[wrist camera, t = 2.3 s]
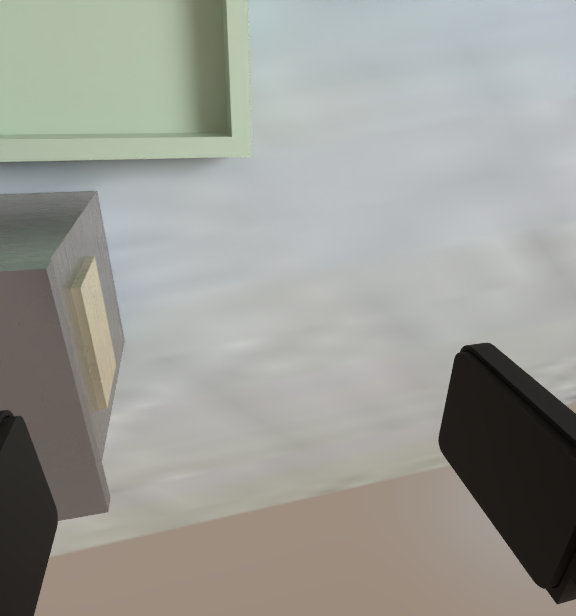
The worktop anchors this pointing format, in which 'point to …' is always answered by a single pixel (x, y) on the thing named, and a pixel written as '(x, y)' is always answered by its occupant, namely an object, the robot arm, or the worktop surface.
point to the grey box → (60, 339)
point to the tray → (124, 79)
